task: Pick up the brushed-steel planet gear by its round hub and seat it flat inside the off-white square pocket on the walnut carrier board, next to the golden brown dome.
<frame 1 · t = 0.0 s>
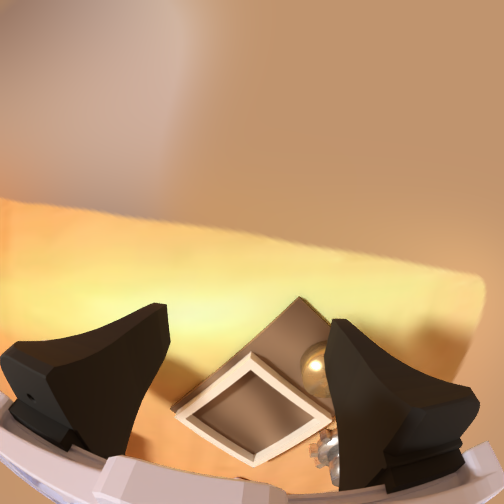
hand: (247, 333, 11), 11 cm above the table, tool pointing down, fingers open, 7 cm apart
planet gear: (342, 442, 24), on the table
carrier pocket: (253, 413, 24), resting on carrier board
golden brown dome: (323, 359, 22), resting on carrier board
carrier board: (273, 399, 23), on the table
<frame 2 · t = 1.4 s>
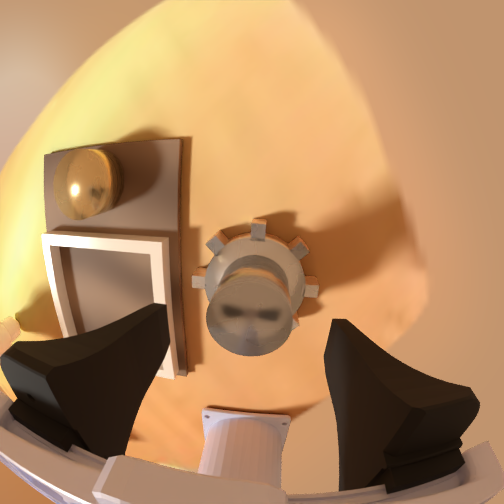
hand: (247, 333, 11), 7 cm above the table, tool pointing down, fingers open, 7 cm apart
planet gear: (256, 277, 18), on the table
carrier pocket: (112, 299, 19), resting on carrier board
golden brown dome: (102, 181, 16), resting on carrier board
carrier board: (107, 266, 18), on the table
lightbulb: (18, 322, 22), on the table
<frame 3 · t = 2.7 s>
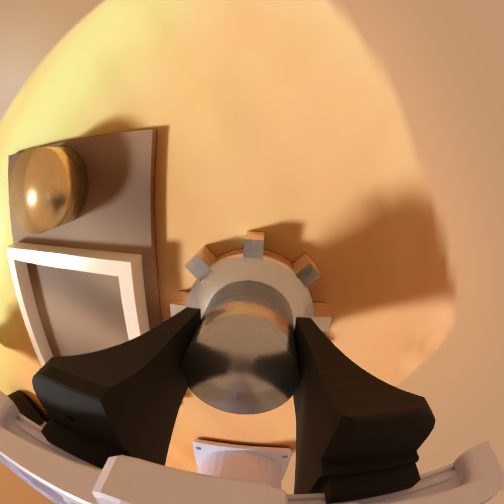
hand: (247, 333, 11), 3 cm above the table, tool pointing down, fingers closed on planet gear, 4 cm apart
planet gear: (251, 304, 14), on the table, touching gripper
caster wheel: (46, 420, 22), on the table
carrier pocket: (84, 322, 15), resting on carrier board
golden brown dome: (66, 184, 13), resting on carrier board
carrier board: (76, 285, 14), on the table
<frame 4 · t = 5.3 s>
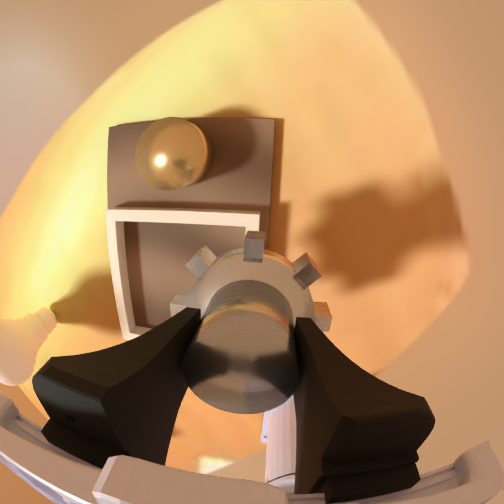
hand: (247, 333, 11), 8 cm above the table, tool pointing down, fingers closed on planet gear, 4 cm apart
planet gear: (251, 304, 14), point 6 cm above the table, touching gripper
carrier pocket: (184, 279, 20), resting on carrier board
golden brown dome: (183, 155, 17), resting on carrier board
carrier board: (183, 243, 19), on the table
lightbulb: (53, 313, 23), on the table
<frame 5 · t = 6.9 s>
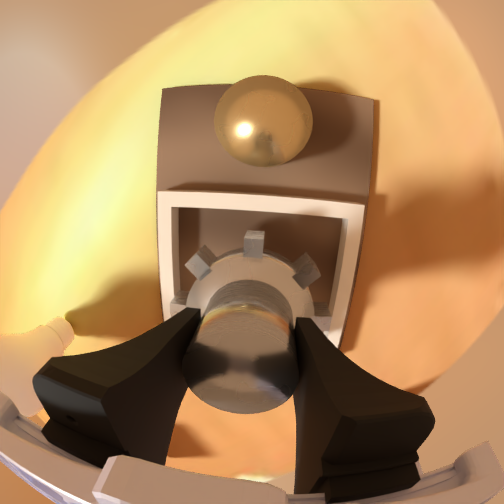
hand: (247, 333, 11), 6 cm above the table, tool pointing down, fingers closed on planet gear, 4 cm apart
planet gear: (251, 304, 14), point 3 cm above the table, touching gripper
carrier pocket: (255, 282, 17), resting on carrier board
golden brown dome: (265, 129, 14), resting on carrier board
carrier board: (258, 238, 16), on the table
lightbulb: (69, 323, 19), on the table
when the fingers open (4 cm above the table, at t = 8.0 s): planet gear drops 1 cm, resting on carrier board.
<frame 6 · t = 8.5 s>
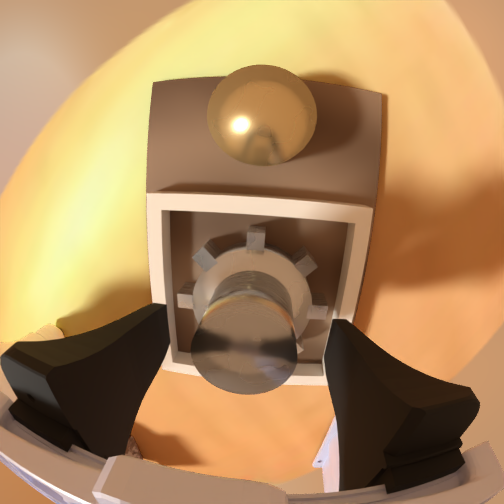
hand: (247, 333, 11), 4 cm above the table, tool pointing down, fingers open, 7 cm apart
planet gear: (253, 295, 15), resting on carrier board
carrier pocket: (253, 291, 15), resting on carrier board
golden brown dome: (263, 124, 13), resting on carrier board
carrier board: (256, 244, 14), on the table
lightbulb: (61, 330, 18), on the table
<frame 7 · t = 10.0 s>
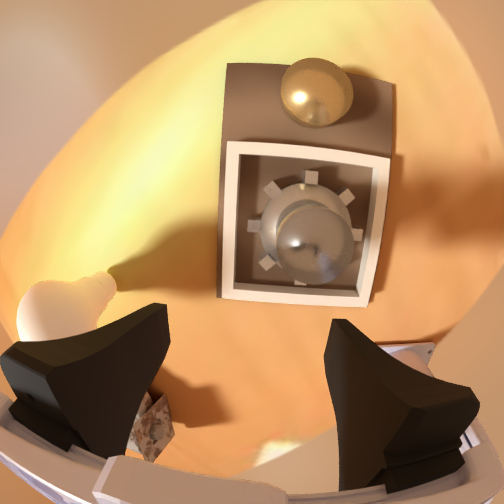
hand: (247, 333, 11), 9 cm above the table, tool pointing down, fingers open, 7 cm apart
planet gear: (304, 225, 19), resting on carrier board
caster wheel: (129, 388, 26), on the table
carrier pocket: (303, 224, 19), resting on carrier board
golden brown dome: (311, 100, 17), resting on carrier board
carrier board: (306, 186, 18), on the table
lightbulb: (110, 280, 22), on the table
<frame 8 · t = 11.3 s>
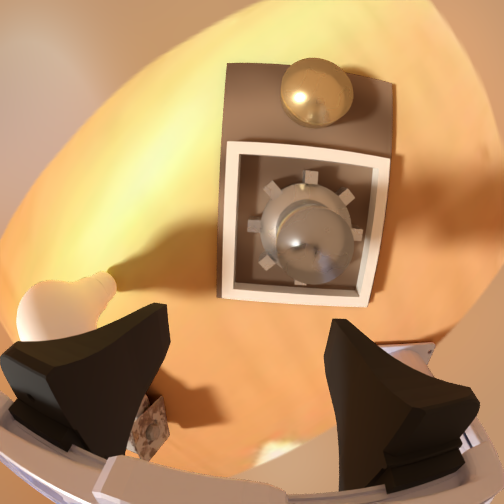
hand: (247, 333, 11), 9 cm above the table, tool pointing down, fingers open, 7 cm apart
planet gear: (304, 225, 19), resting on carrier board
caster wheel: (126, 388, 26), on the table
carrier pocket: (303, 224, 19), resting on carrier board
golden brown dome: (311, 100, 17), resting on carrier board
carrier board: (306, 186, 18), on the table
lightbulb: (110, 280, 22), on the table
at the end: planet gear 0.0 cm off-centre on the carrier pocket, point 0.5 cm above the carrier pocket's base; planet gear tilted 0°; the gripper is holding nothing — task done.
